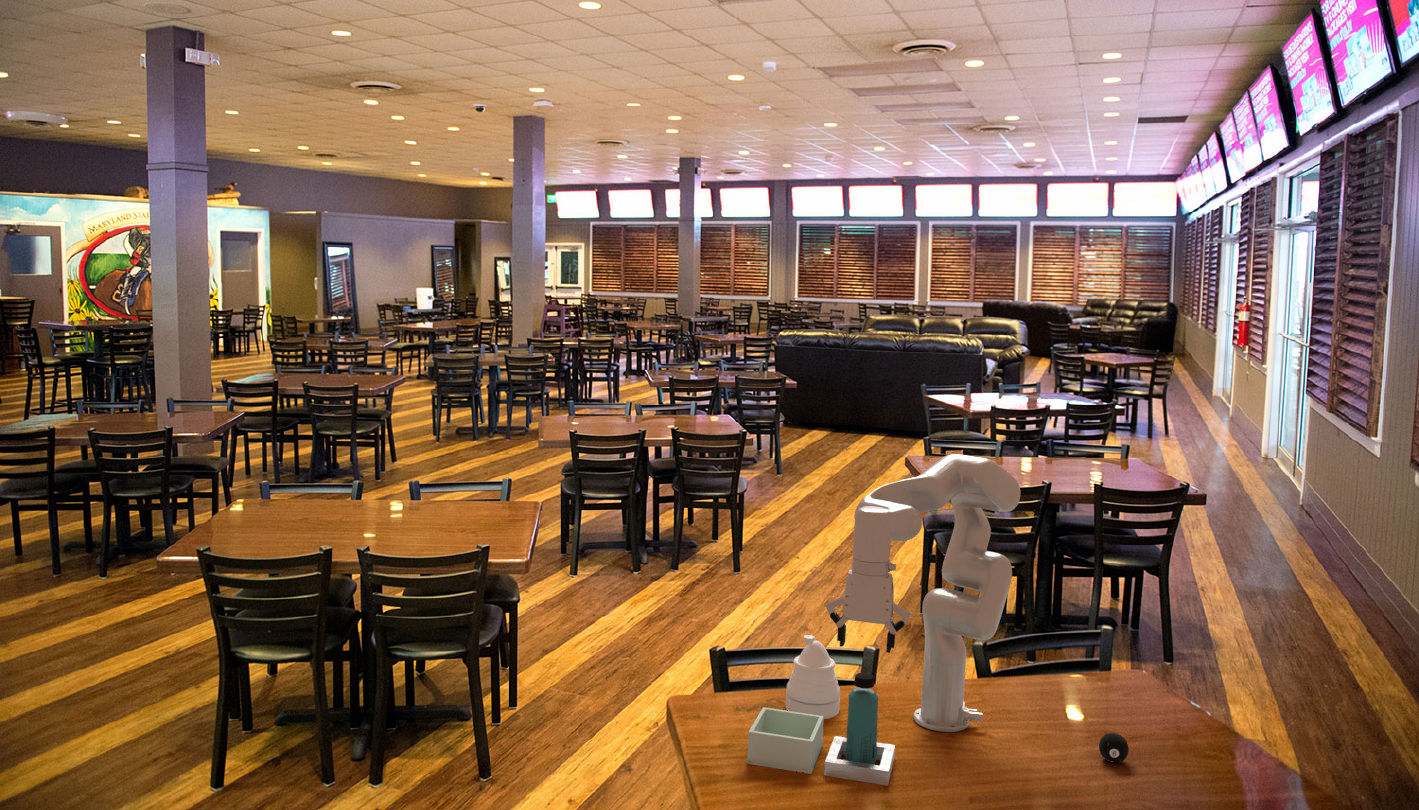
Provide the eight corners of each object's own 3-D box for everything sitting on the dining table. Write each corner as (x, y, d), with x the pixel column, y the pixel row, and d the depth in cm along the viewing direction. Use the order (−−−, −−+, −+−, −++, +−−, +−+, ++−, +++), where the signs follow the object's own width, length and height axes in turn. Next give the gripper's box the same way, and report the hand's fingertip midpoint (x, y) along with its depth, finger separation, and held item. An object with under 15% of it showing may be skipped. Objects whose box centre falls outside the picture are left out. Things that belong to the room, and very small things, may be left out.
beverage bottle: (875, 775, 212) (880, 682, 210) (843, 771, 213) (847, 679, 211) (876, 762, 218) (881, 671, 216) (845, 758, 219) (849, 668, 217)
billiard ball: (1126, 757, 225) (1128, 731, 224) (1128, 769, 219) (1130, 742, 218) (1097, 753, 227) (1099, 727, 226) (1098, 764, 221) (1100, 737, 220)
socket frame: (894, 758, 220) (895, 745, 220) (887, 785, 208) (888, 771, 207) (834, 749, 224) (834, 736, 223) (824, 775, 211) (825, 761, 211)
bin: (822, 746, 225) (823, 716, 224) (811, 774, 212) (812, 741, 211) (761, 737, 228) (763, 707, 228) (747, 763, 215) (748, 731, 214)
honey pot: (806, 723, 237) (809, 648, 235) (775, 703, 248) (778, 631, 246) (850, 713, 243) (854, 640, 241) (818, 694, 254) (821, 624, 252)
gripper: (914, 567, 212) (909, 647, 214) (831, 558, 217) (827, 637, 218) (911, 576, 205) (906, 659, 207) (825, 566, 210) (821, 647, 211)
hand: (865, 647), depth 213 cm, fingers open, 9 cm apart
